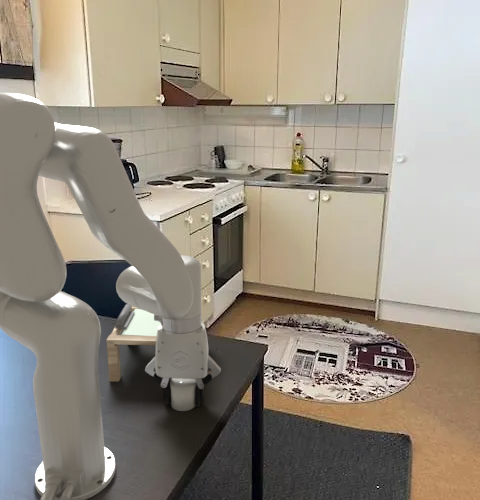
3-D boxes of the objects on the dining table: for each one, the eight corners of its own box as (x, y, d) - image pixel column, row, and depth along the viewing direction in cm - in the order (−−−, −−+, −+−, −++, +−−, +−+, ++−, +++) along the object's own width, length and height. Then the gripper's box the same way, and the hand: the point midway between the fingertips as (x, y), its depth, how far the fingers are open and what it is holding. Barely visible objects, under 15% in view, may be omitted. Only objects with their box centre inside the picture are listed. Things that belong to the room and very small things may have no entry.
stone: (195, 411, 98) (194, 389, 97) (168, 410, 98) (168, 388, 97) (198, 395, 103) (197, 374, 101) (172, 395, 103) (172, 374, 102)
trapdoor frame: (192, 383, 107) (192, 342, 104) (109, 381, 108) (106, 339, 105) (201, 342, 124) (200, 306, 121) (129, 340, 125) (127, 304, 122)
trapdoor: (181, 341, 107) (181, 328, 106) (112, 338, 107) (111, 324, 106) (189, 315, 119) (189, 303, 118) (127, 312, 120) (126, 300, 119)
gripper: (132, 328, 92) (137, 412, 97) (225, 330, 91) (225, 414, 97) (141, 310, 99) (145, 389, 104) (227, 312, 98) (227, 392, 104)
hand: (183, 400), depth 100 cm, fingers closed on stone, 5 cm apart
